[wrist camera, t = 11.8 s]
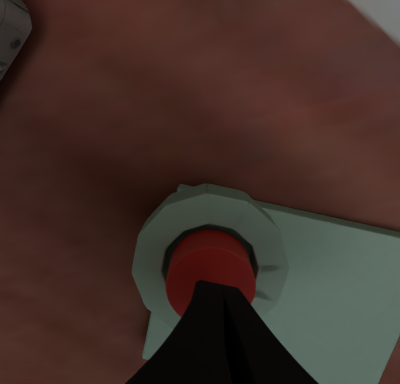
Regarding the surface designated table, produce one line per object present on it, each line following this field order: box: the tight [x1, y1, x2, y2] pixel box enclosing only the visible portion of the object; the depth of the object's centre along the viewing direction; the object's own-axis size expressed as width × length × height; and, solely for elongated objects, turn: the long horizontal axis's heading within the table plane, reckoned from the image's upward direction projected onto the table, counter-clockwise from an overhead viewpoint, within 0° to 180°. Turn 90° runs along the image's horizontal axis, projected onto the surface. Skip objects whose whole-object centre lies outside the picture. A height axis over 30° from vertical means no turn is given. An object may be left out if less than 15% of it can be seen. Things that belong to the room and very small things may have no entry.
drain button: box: [166, 229, 256, 317], centre depth 12 cm, size 3×3×2 cm
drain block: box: [131, 183, 400, 384], centre depth 14 cm, size 13×10×3 cm
